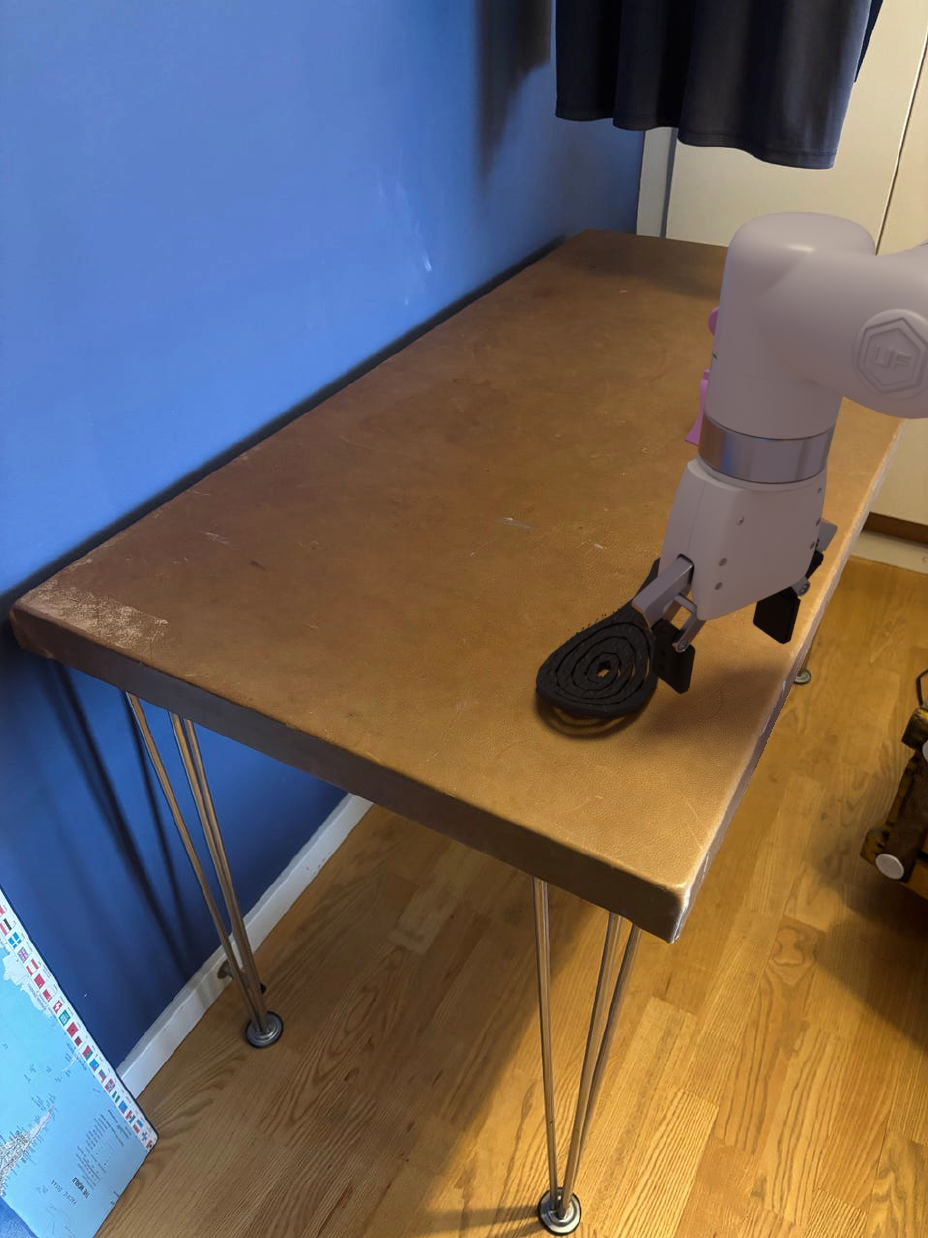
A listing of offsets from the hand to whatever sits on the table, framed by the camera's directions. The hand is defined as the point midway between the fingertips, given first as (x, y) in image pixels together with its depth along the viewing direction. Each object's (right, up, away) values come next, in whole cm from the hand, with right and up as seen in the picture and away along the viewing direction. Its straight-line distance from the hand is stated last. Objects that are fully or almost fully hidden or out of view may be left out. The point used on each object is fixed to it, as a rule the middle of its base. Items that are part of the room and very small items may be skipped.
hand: (721, 656), depth 65 cm
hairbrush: (-5, +1, +9) cm, 10 cm away
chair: (+11, +23, +35) cm, 43 cm away
